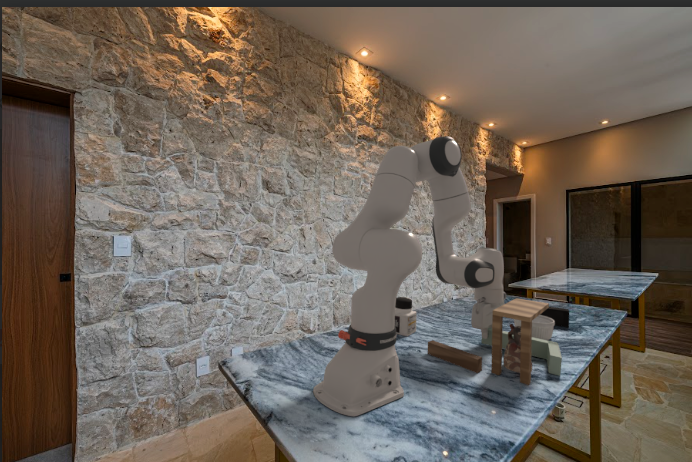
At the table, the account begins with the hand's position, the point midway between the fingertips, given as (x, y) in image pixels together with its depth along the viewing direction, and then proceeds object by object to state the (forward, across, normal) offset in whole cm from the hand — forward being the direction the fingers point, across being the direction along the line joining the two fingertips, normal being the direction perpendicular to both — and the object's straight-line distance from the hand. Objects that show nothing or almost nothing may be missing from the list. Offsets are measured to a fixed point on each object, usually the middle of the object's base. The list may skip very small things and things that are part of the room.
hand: (487, 336), depth 101 cm
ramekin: (+4, +24, -8) cm, 26 cm away
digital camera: (+3, +48, -11) cm, 49 cm away
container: (+4, -9, +28) cm, 30 cm away
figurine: (+4, -10, -12) cm, 16 cm away
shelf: (+3, -8, -12) cm, 15 cm away
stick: (+4, -20, +3) cm, 21 cm away
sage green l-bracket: (+3, -3, -10) cm, 11 cm away
